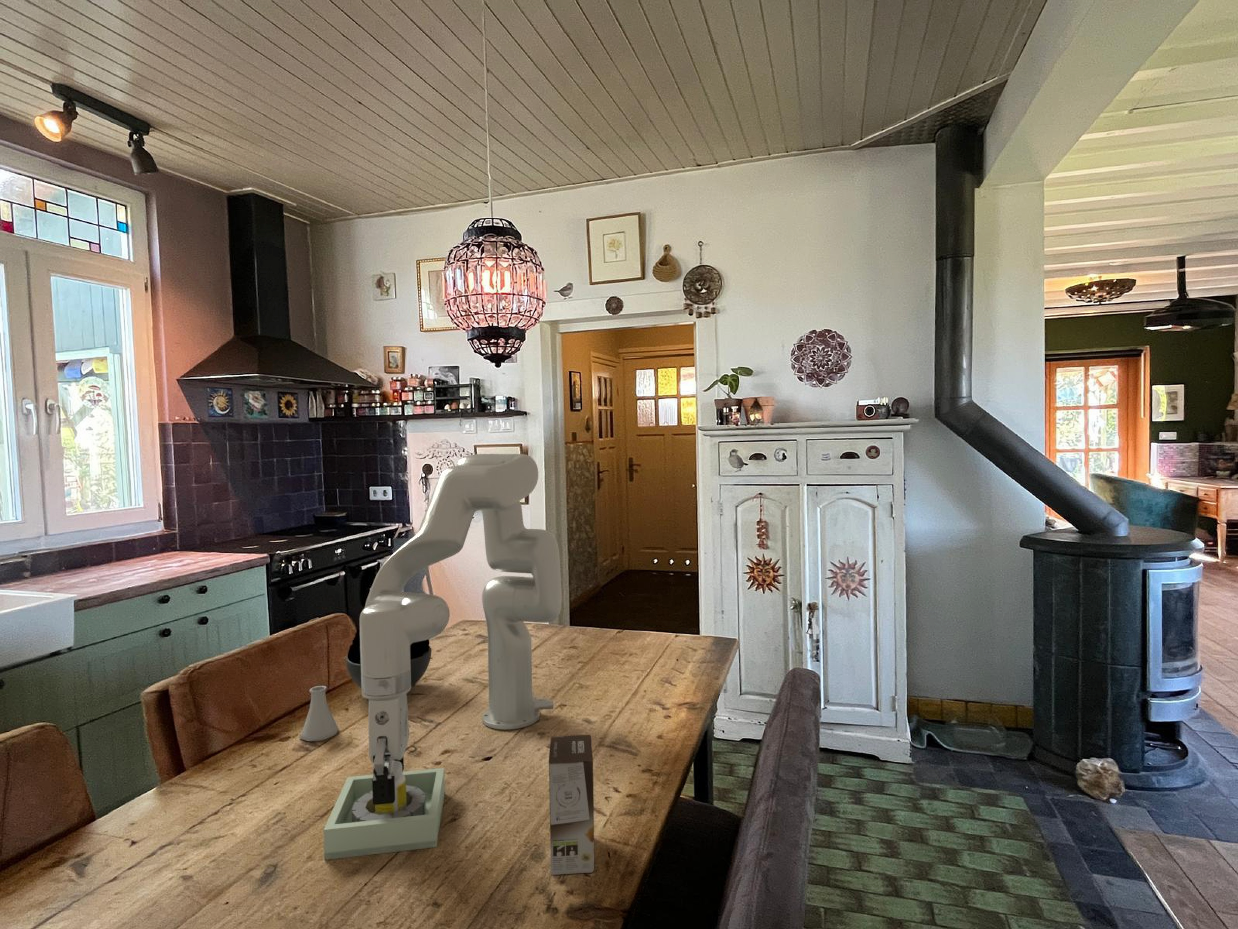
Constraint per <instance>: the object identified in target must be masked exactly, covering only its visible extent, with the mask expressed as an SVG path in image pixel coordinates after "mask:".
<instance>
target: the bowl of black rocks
mask: <svg viewBox="0 0 1238 929" xmlns="http://www.w3.org/2000/svg"><path fill="white" fill-rule="evenodd" d="M351 642H352V644H351V645H349V649H348V651H347V655H346V656H345V666H346V668H347V669H346V670H347V671H348V674H349V676H350V679H352V682H354V683H355V685H357V686H358V687H359V688H361V655H360V627H359V628H358V629H357V630H356V632H355V635H354V637H353V639H352V641H351ZM431 658H432V647H431V646H430V639H428V640H424V641H419V642H414V643H412V644H411V645H410V664H411V667H410V668H411V688H412V687H413V686H415V685H416V684H417V683H418V682H419V681H420V680H421V679H422V678H423V676H424V674H426V672H427V669H428V667H429V665H430V661H431Z"/></svg>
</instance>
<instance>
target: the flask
mask: <svg viewBox="0 0 1238 929" xmlns="http://www.w3.org/2000/svg"><path fill="white" fill-rule="evenodd" d="M327 689H328V687H327V686H325V685H316V686H313V687H311V688H310V689H309V694H310V704H309V709H308V712H307V716H306V719H305V722H304V724H303V727H302V729H301V733H300V736H299V740H303V741H307V742H319V741H325V740H327V739H330V738H332V737H333V736H336V734H337V733H338V731H339V727H338V725H337V723H336V720H335V719H334V716H333V714H332V712H331V710H330V706H329V705H328V700H327V696H326V690H327Z"/></svg>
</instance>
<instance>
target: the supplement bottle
mask: <svg viewBox="0 0 1238 929" xmlns="http://www.w3.org/2000/svg"><path fill="white" fill-rule="evenodd" d="M385 766H387V768H388V767H389V763H385ZM402 771H403V772H404V770H402V763H401V762H399V761H393V775H392V776H395V801H394V803H389V804H380V805H375V809H376V814H378V815H382V814H391V813H394V812H397V811H400V810H403V809H404V808H406V807H407V801H406V780H405V776H404V774H403V772H402Z"/></svg>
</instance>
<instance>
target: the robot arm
mask: <svg viewBox="0 0 1238 929" xmlns="http://www.w3.org/2000/svg"><path fill="white" fill-rule="evenodd" d="M538 480H539V467H538V465H537V463H536V461H535V460H534V458H532V457H531V455H530V456H529V455H528V454H523V453H475V454H469V455H465V456H463V457H461V458H460V459H459V460H458V462H457V463H456V466H454V465H453V466H450V467H448V468H446V469H445V470H443V471H442V472H441V474H440V475H439V477H438V479H437V482H436V484H435V487H434V489H433V492H432V494H431V496H430V500H429V503H428V505H427V507H426V510H425V512H424V516H423V518H422V520H421V523H420V526H419V528H418V531H417V532H416V534H415V535H413V537H411V538H410V539H409V540H408V541H406V542H405V543H404V544H402V545H401V546H400V547H399V548H398V549H397V550H396V551H394V553H393V554H391V556H389V558H388V559H387V560H386V561H385V562H384V563H383V564H382V565H381V567H380V568H379V570H378V572H376V576H375V578H374V579H373V583H372V585H371V587H370V589H369V593H368V595H367V598H366V600H365V605H364V608H363V609H362V611H361V612H360V614H359V628H360V655H361V696H362V697H363V698H364V699H368V710H367V711H368V712H367V713H368V753H369V755H368V757H369V760H370V762H372V763H373V769H372V775H373V779H372V790H373V804H374V805H380V804H389V803H394V801H395V776H392V775H393V761H399V762H401V763H402V770H403V771H402V772H404V770H405V763H404V762H405V761H404V760H405V759H404V756H405V753H406V750H407V747H408V744H409V743H408V742H409V739H410V725H409V724H410V723H409V706H408V705H409V704H408V696H407V695H408V693H409V692H410V691H411V689H412V687H411V668H410V667H411V664H410V645H411V644H412V643H414V642H419V641H424V640H428V639H429V640H431V639H433V638H436V637H437V636H440V634H441V633H443V631H444V630H445V629H446V627H447V626H448V623H449V621H450V607H449V605H448V603H447V602H446V600H445V599H444V598H442V597H441V596H439V595H436V594H429V593H422V592H421V593H418V592H417V593H416V592H407V591H403V589H404V587H405V586H406V584H407V583H408V582H409V580H411V579H412V578H413V577H414V576H415V575H416V574H417V573H419V572H420V571H422V570H424V569H426V568H427V567H430V566H433V565H435V564H437V563H440V562H441V561H443V560H446V559H448V558H451V557H453V556H455V555H456V554H458V553H460V552H461V550H462V549H463V548H464V545H465V542H466V539H467V537H468V532H469V530H470V527H471V524H472V521H473V518H474V515H475V513H476V512H477V511H481V513H482V520H483V534H484V548H485V556H486V561H487V562H486V563H487V564H488V567H490V569H492V570H493V571H497V572H500V573H502V572H503V573H517V574H530V575H532V577H531V576H530V577H529V576H518V575H517V576H516V575H502V576H501V575H500V576H496V577H493V578H491V579H490V580H488V581H487V582H486V584H485V585H484V587H483V590H482V593H481V594H482V596H481V598H482V599H481V600H482V607H483V612H484V618H485V622H486V631H487V662H488V663H487V664H488V666H487V668H488V670H487V672H488V708H487V709H486V710H485V711H484V712H483V713H482V715H481V720H482V723H483V724H484V725H485V726H487V727H488V728H491V729H496V730H505V731H506V730H507V731H508V730H517V729H522V728H526V727H528V726H530V725H531V726H532V725H533V724H534V723H536V722H537V721H538V720H539V719H540V717H541V713H540V712H541V711H540V710H554V700H553V699H551V700H550V699H549V700H548V697H541V698H540V697H539V698H537V697H535V695H534V692H533V669H532V668H533V665H532V664H533V661H532V660H533V658H532V657H533V655H532V652H533V651H532V647H533V646H532V637H531V633H530V631H529V629H528V627H527V625H526V623H540V624H541V623H544V624H547V623H548V624H549V623H553V621H555V620H557V618H558V617H559V615H560V613H561V610H562V605H563V604H562V602H563V596H562V595H563V593H562V592H563V591H562V576H561V558H560V550H559V543H558V541H557V539H556V536H555V535H554V534H553V533H552V532H550V531H549V530H545V529H541V528H526V527H525V525H524V524H525V523H524V518H523V507H522V503H521V500H523V499H525V498H526V497H528V496H530V495H531V494H532V492H533V491H534V489H536V486H537V484H538ZM385 763H389V767H388V768H387V766H385Z"/></svg>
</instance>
